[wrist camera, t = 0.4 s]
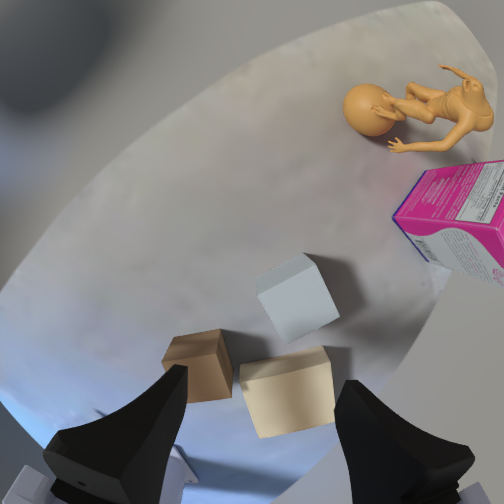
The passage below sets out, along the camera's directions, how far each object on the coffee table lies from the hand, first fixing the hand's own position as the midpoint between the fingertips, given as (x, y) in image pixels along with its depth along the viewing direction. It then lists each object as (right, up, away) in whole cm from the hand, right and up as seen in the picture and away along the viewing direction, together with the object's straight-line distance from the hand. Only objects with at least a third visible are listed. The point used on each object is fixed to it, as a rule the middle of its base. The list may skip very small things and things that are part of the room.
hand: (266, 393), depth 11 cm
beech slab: (+3, -6, +12) cm, 13 cm away
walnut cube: (-5, -2, +11) cm, 12 cm away
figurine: (+8, +16, +8) cm, 20 cm away
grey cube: (+2, +4, +10) cm, 11 cm away
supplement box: (+14, +9, +9) cm, 19 cm away
